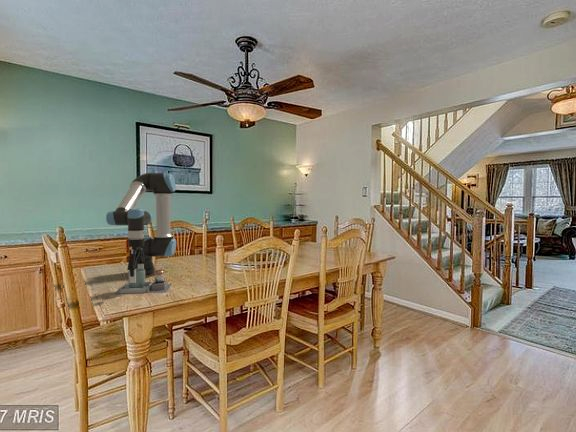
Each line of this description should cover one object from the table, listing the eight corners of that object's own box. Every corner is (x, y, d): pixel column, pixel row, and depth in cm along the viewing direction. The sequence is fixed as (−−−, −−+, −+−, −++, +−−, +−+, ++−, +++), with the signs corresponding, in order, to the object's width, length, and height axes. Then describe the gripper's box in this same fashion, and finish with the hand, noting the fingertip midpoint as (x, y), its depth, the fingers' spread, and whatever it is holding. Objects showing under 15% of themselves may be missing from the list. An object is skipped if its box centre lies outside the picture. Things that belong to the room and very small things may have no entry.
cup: (148, 288, 166) (148, 269, 166) (134, 292, 159) (134, 272, 159) (139, 286, 170) (138, 267, 170) (125, 289, 163) (125, 270, 163)
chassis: (128, 288, 172) (127, 279, 172) (172, 286, 176) (172, 278, 175) (117, 297, 156) (116, 287, 156) (166, 295, 160) (165, 286, 159)
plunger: (155, 281, 169) (155, 270, 168) (165, 280, 169) (164, 269, 169) (153, 283, 164) (153, 272, 163) (163, 283, 165) (162, 271, 164)
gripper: (136, 241, 152) (137, 285, 153) (150, 235, 176) (150, 273, 178) (119, 241, 151) (120, 286, 152) (136, 235, 175) (136, 273, 176)
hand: (136, 279), depth 165 cm, fingers open, 13 cm apart
